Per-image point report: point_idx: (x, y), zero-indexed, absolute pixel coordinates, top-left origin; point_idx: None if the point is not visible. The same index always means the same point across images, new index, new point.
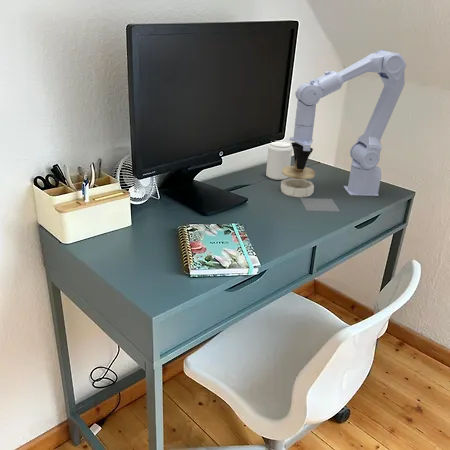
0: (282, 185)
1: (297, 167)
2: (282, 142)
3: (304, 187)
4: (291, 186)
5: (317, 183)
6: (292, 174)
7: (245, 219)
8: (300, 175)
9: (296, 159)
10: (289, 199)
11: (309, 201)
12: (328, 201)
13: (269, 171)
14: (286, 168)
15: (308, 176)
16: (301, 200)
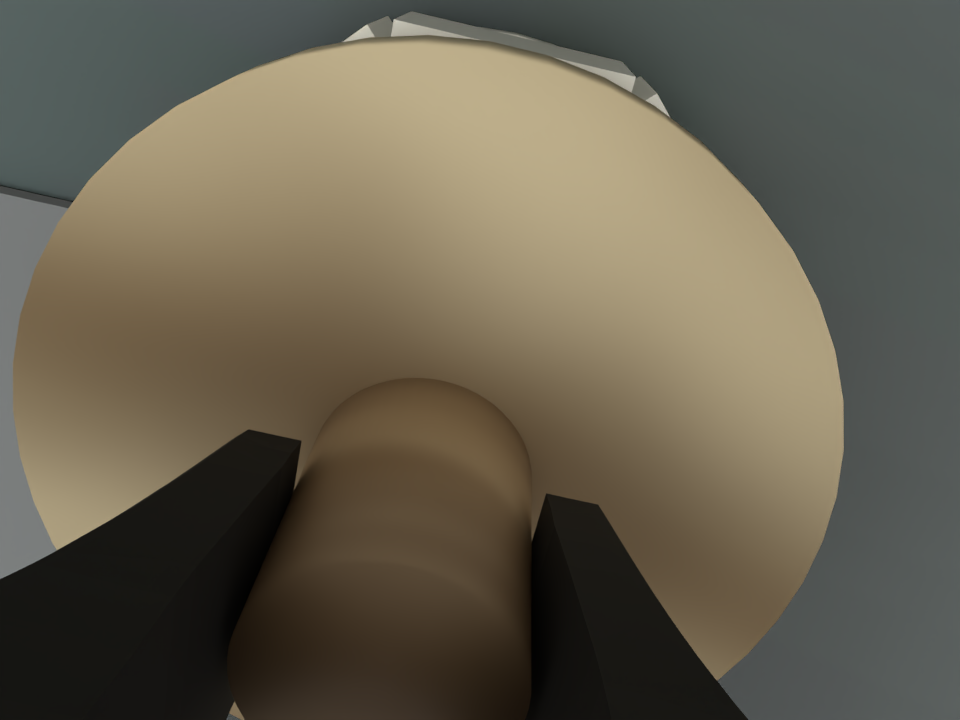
0: (461, 33)
1: (229, 444)
2: None
3: None
4: None
5: (756, 704)
6: (117, 200)
7: None
8: (58, 374)
9: (187, 557)
10: (167, 44)
11: (21, 308)
12: (38, 549)
13: None
14: (642, 239)
15: (57, 528)
16: (59, 206)
